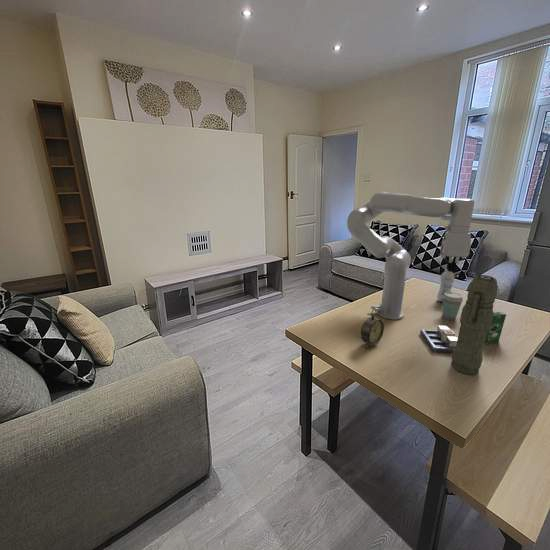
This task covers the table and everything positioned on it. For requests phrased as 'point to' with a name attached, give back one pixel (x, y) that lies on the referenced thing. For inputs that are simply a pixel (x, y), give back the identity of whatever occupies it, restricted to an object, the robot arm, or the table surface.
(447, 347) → the panel
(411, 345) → the table surface
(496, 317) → the coffee box
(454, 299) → the coffee cup
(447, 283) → the plastic bottle
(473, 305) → the thermos
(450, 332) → the block
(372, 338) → the alarm clock
